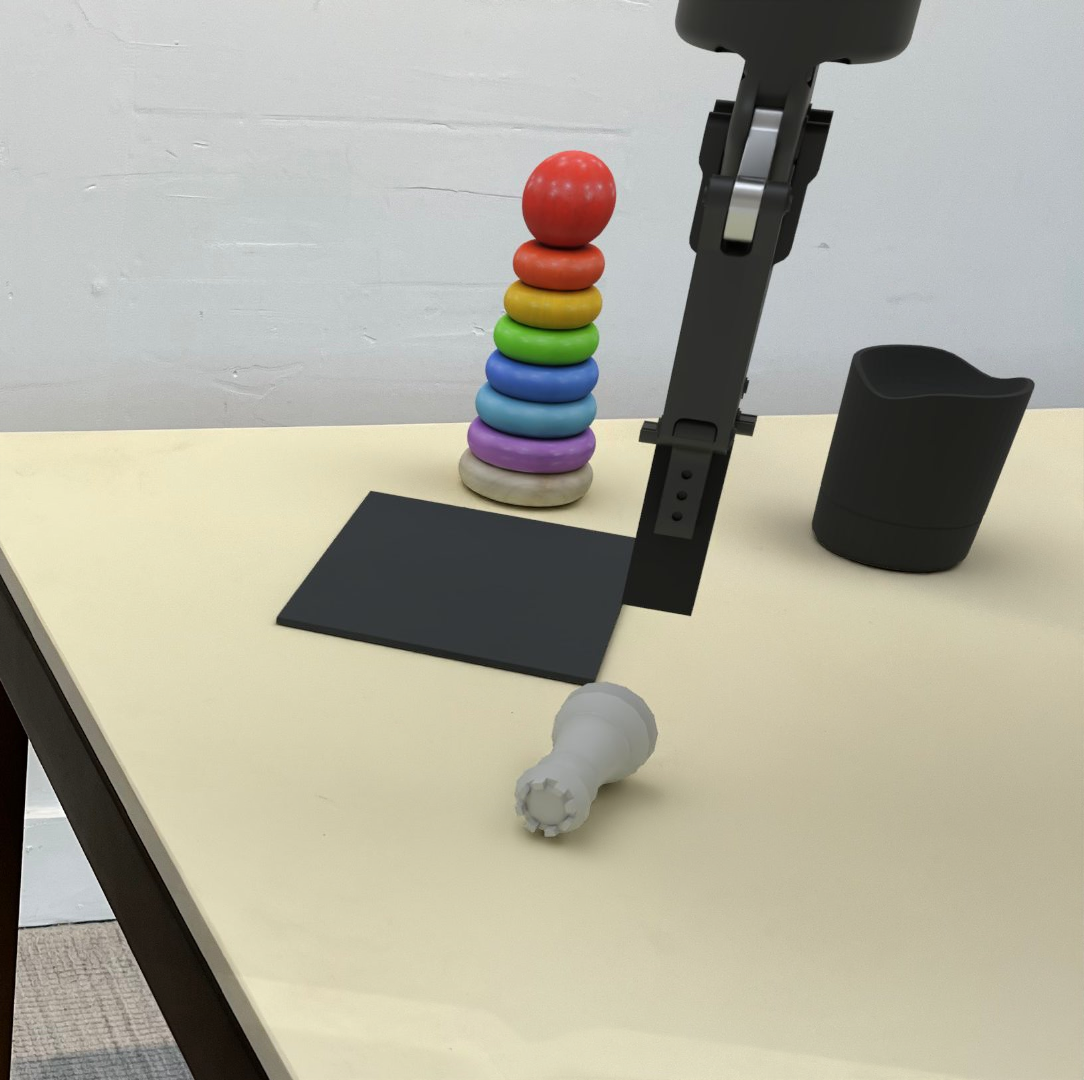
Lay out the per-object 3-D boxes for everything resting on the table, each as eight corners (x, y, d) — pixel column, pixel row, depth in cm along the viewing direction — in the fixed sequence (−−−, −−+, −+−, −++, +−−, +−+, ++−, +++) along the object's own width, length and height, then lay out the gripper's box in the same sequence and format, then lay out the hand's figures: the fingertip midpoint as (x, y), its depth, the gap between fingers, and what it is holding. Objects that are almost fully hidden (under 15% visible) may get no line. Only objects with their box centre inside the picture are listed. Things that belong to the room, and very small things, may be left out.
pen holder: (954, 524, 109) (1012, 354, 103) (989, 585, 102) (1054, 405, 96) (792, 507, 110) (840, 337, 105) (815, 566, 103) (868, 386, 97)
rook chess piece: (612, 786, 82) (546, 875, 77) (542, 716, 82) (471, 800, 77) (683, 730, 79) (619, 819, 74) (610, 657, 79) (540, 741, 74)
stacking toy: (546, 460, 115) (611, 135, 104) (613, 507, 109) (690, 167, 98) (433, 468, 113) (486, 137, 102) (495, 516, 107) (559, 170, 96)
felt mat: (643, 545, 104) (645, 539, 104) (592, 687, 89) (594, 679, 89) (369, 496, 108) (370, 490, 108) (275, 623, 93) (276, 616, 93)
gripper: (717, -112, 65) (586, 531, 79) (676, -80, 55) (535, 650, 69) (942, -96, 63) (768, 561, 77) (943, -60, 53) (742, 688, 67)
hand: (658, 602), depth 73 cm, fingers closed
